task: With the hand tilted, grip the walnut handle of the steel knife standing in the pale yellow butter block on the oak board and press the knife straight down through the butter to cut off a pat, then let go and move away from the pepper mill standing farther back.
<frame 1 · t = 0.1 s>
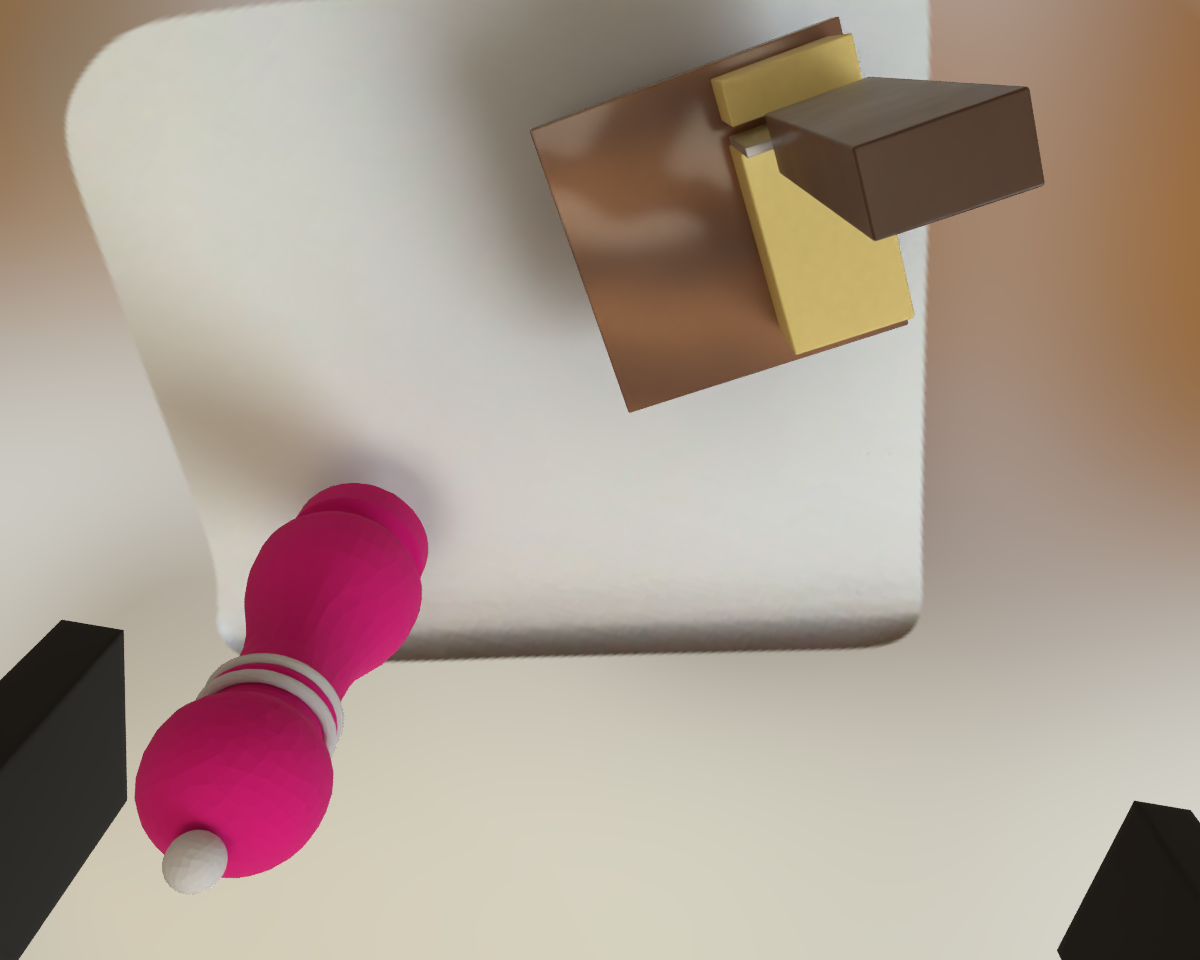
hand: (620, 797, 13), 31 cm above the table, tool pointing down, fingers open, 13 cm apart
pepper mill: (363, 539, 46), on the table
knife: (849, 134, 26), point 13 cm above the table, slide at 0.0 cm
butter: (777, 110, 38), resting on board
board: (722, 224, 40), on the table
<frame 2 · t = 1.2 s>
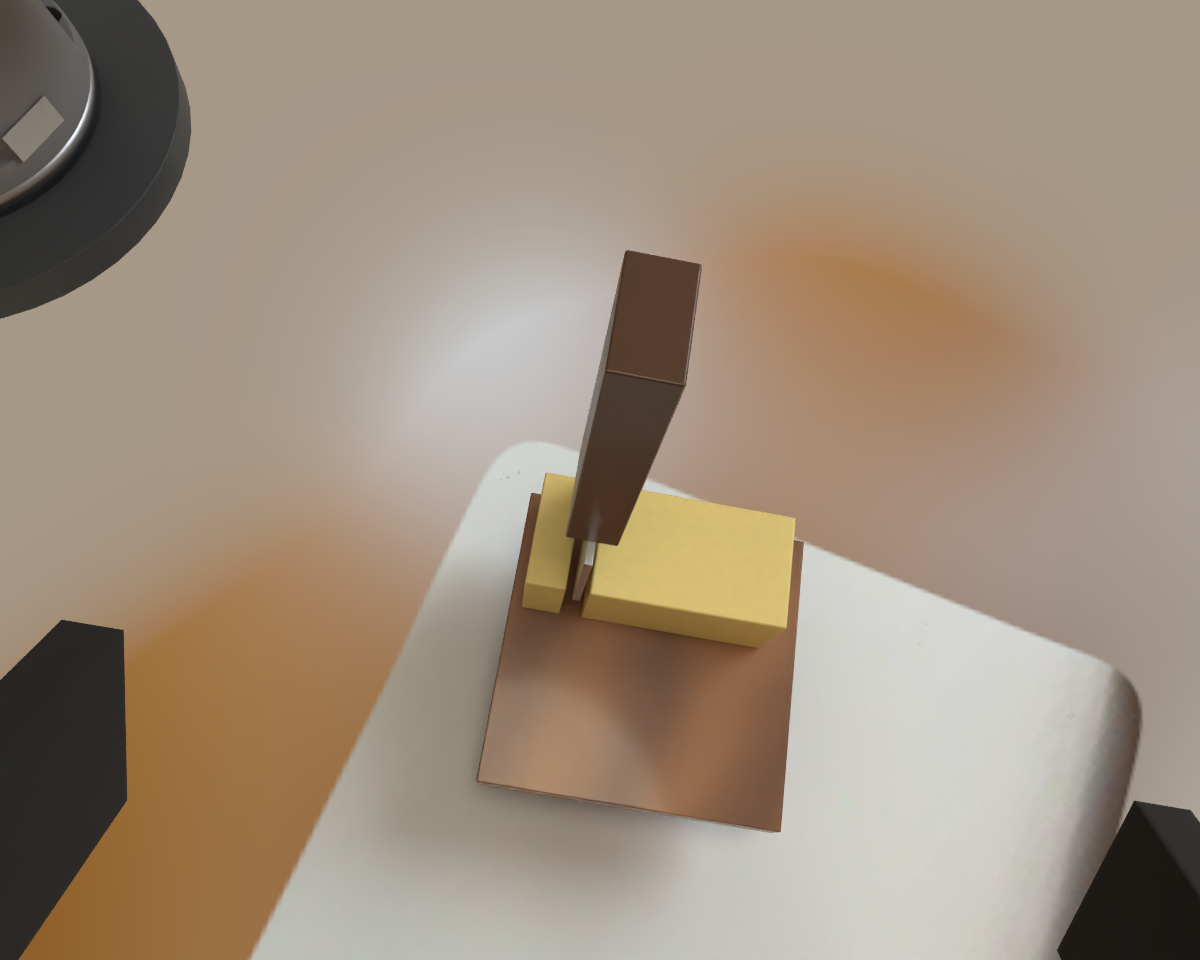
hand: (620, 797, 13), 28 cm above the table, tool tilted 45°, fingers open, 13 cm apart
knife: (611, 458, 30), point 13 cm above the table, slide at 0.0 cm
butter: (575, 573, 42), resting on board
board: (644, 660, 41), on the table
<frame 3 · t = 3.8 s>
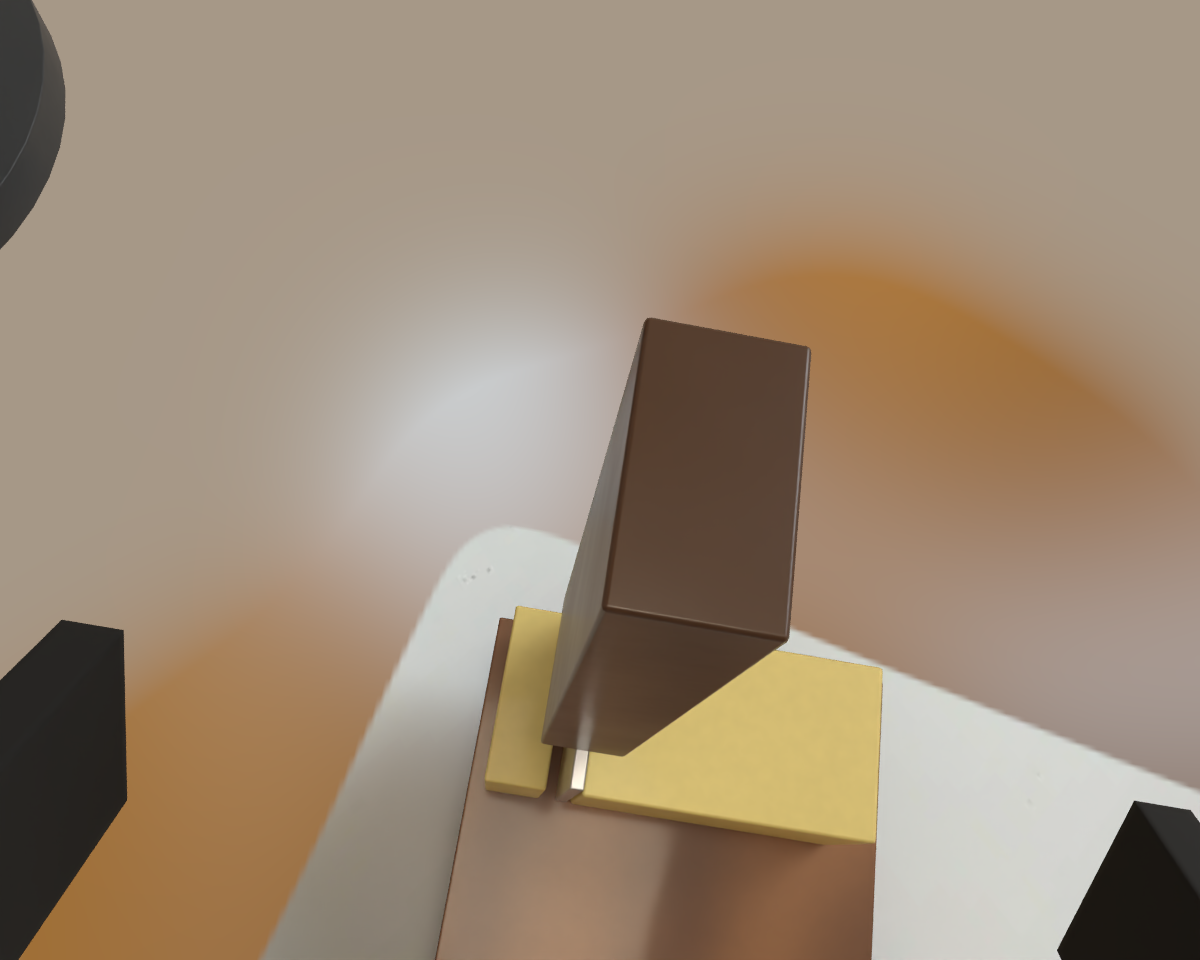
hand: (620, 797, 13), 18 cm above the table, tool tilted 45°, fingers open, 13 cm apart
knife: (613, 641, 18), point 13 cm above the table, slide at 0.0 cm
butter: (563, 727, 30), resting on board
board: (661, 857, 29), on the table
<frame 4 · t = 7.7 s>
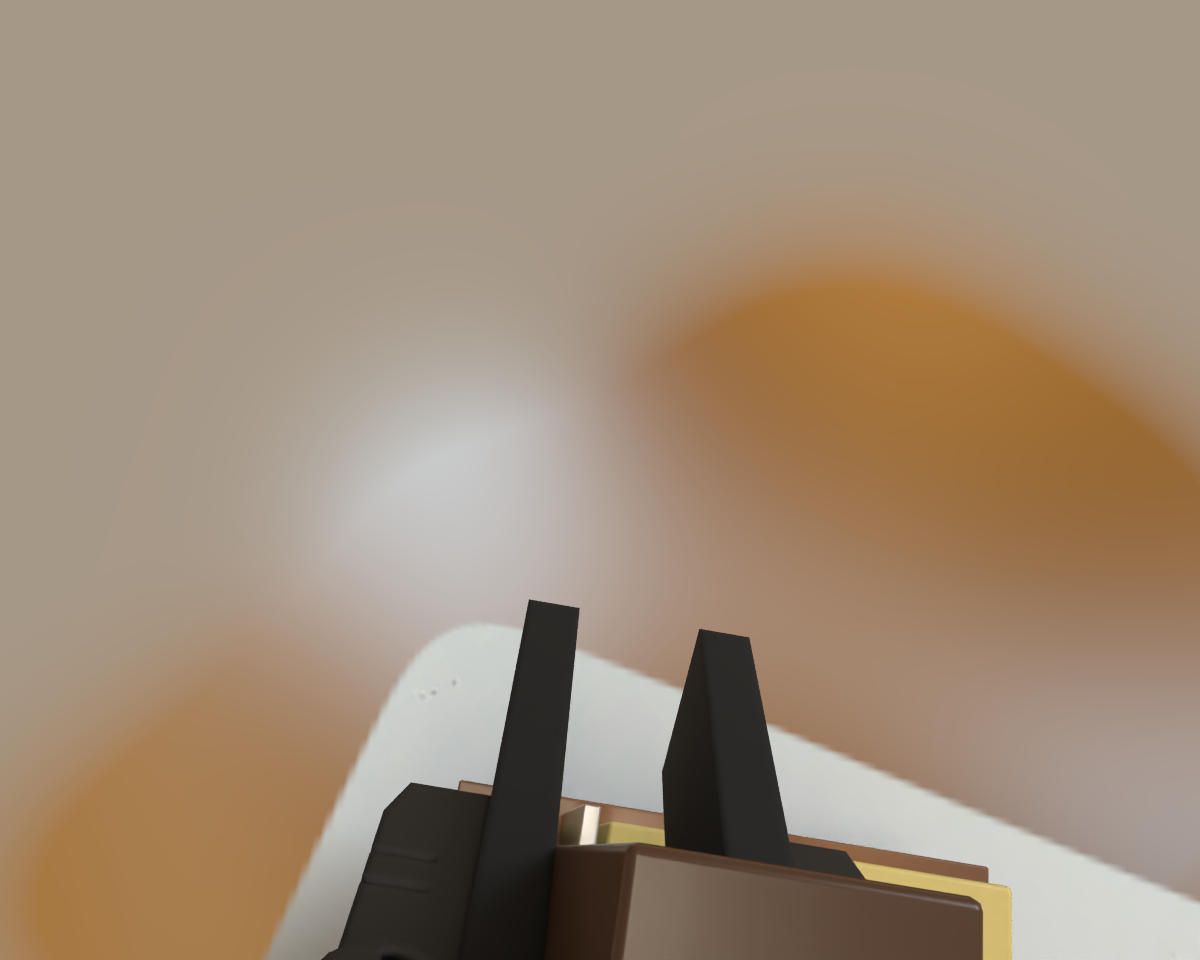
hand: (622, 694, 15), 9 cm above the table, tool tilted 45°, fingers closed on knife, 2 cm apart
butter: (547, 929, 22), resting on board
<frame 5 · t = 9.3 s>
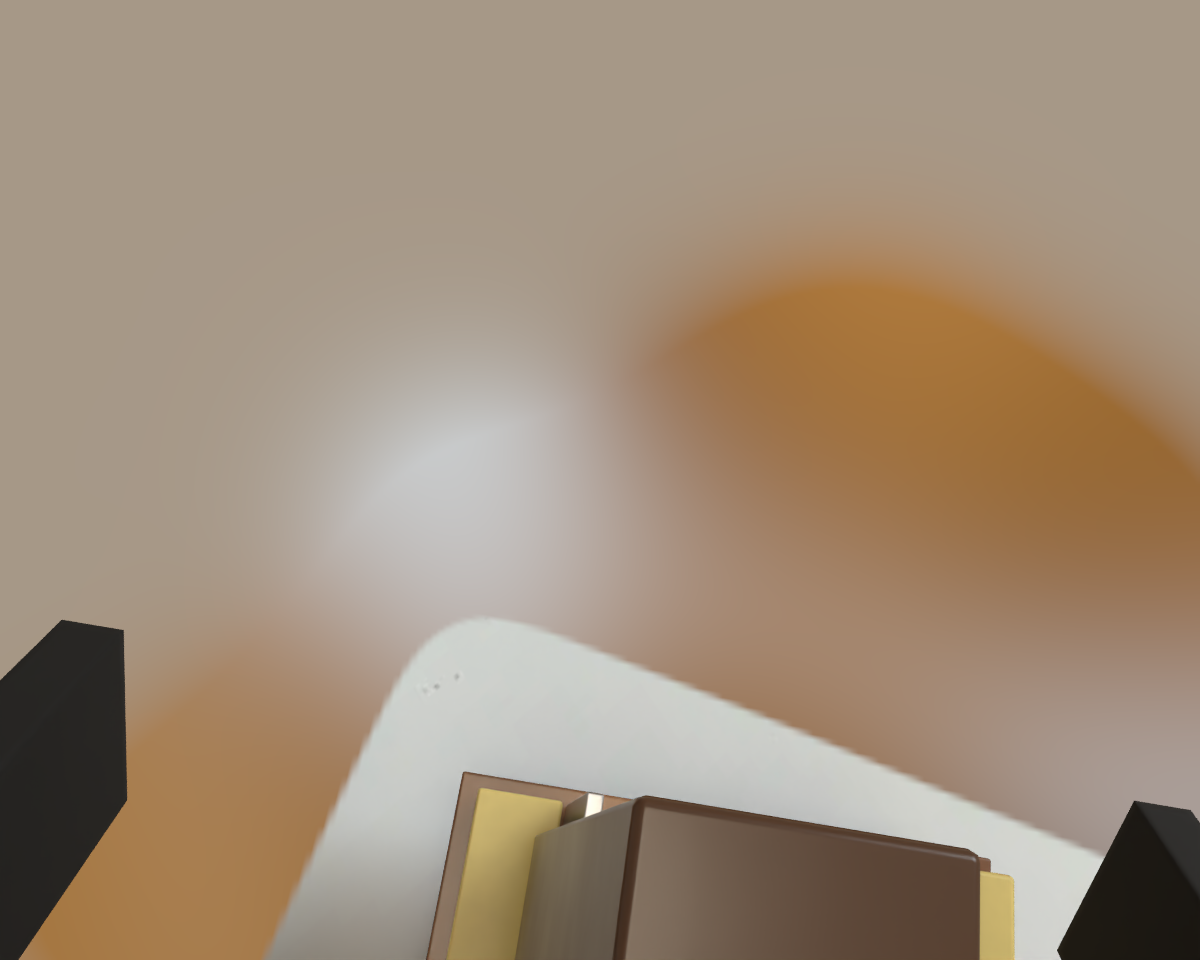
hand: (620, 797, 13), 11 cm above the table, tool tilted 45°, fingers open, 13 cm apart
butter: (550, 920, 22), resting on board
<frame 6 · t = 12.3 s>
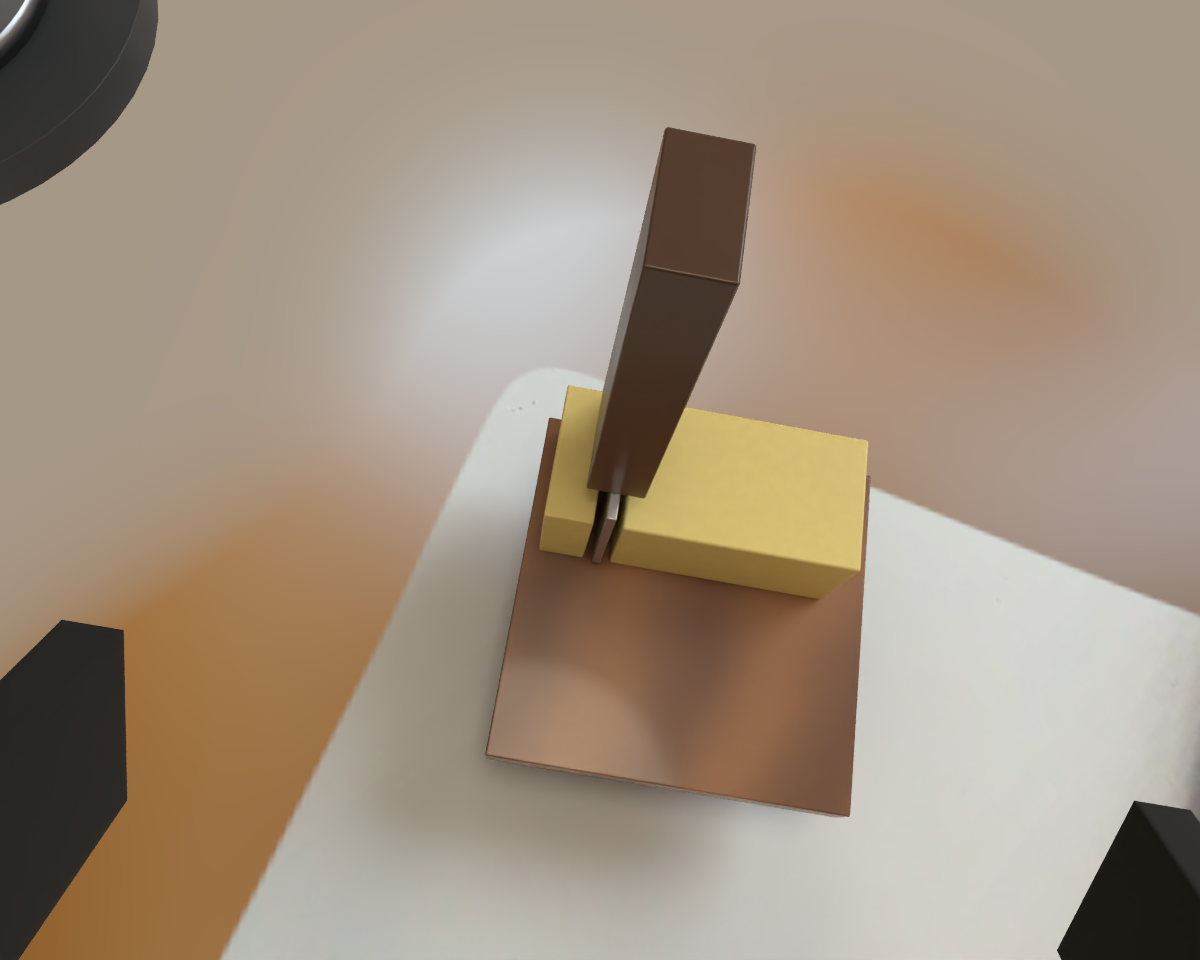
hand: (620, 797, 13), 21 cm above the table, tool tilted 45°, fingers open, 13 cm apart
knife: (639, 395, 26), point 10 cm above the table, slide at 3.1 cm
butter: (601, 512, 36), resting on board
board: (683, 614, 35), on the table
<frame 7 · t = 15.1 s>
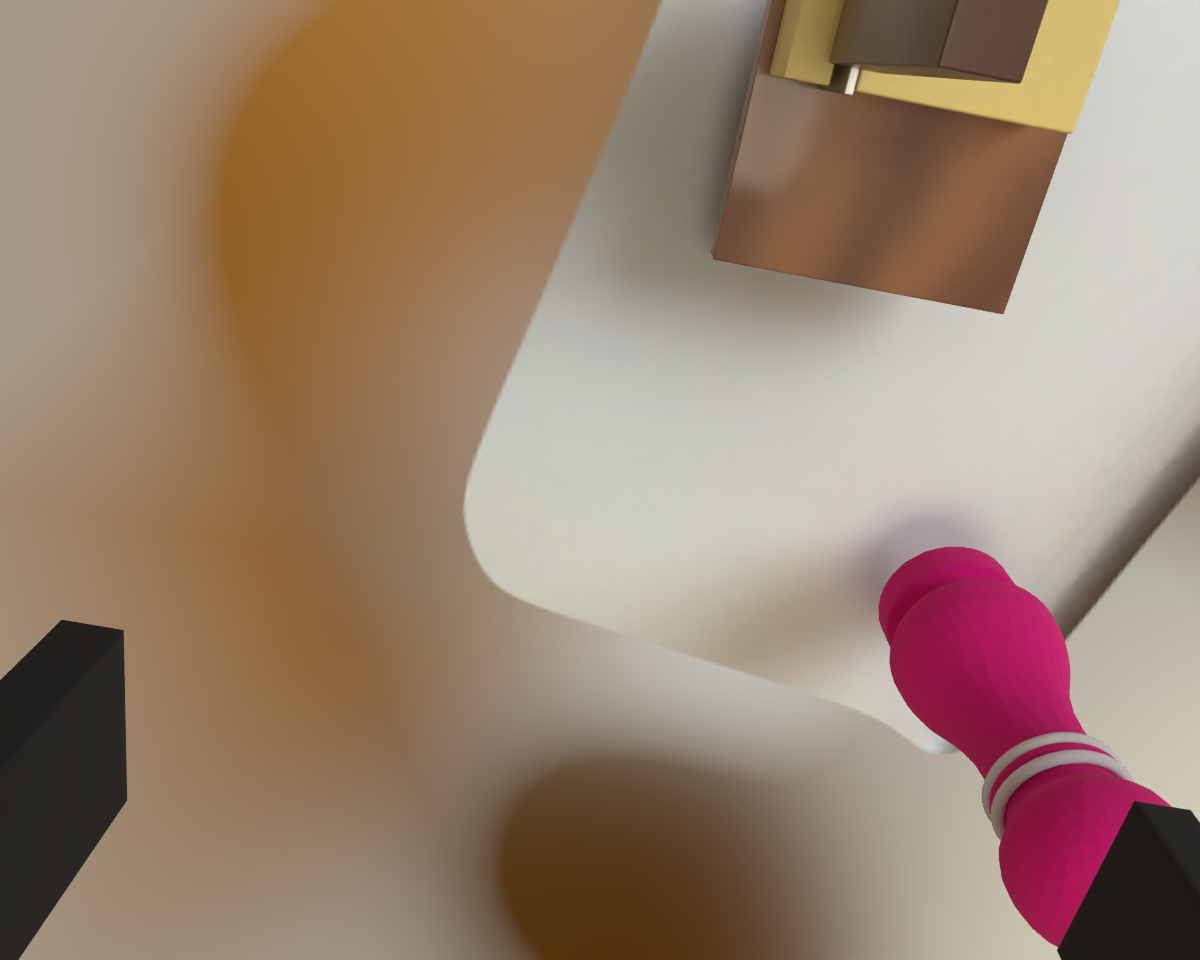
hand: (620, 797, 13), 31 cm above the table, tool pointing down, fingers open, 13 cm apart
pepper mill: (942, 599, 46), on the table
knife: (898, 8, 27), point 10 cm above the table, slide at 3.1 cm
butter: (830, 20, 37), resting on board
board: (894, 128, 38), on the table
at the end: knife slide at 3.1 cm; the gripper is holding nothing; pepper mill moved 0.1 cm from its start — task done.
